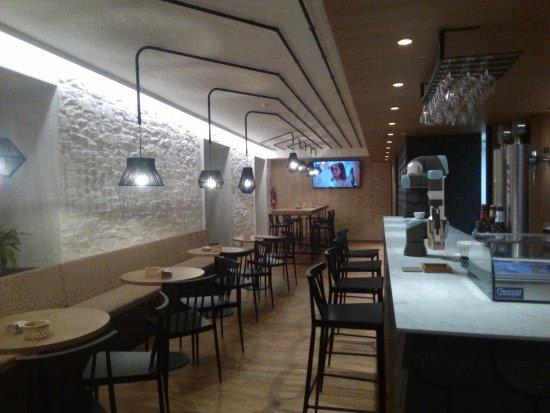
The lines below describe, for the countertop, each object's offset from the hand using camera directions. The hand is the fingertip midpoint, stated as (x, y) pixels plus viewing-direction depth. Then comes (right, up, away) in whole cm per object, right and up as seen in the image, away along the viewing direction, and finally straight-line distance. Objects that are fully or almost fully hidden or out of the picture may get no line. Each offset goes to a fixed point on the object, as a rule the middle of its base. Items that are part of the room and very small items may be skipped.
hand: (436, 239), depth 233 cm
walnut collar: (0, -17, +1) cm, 17 cm away
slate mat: (-12, -17, +4) cm, 21 cm away
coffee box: (0, -5, 0) cm, 5 cm away
